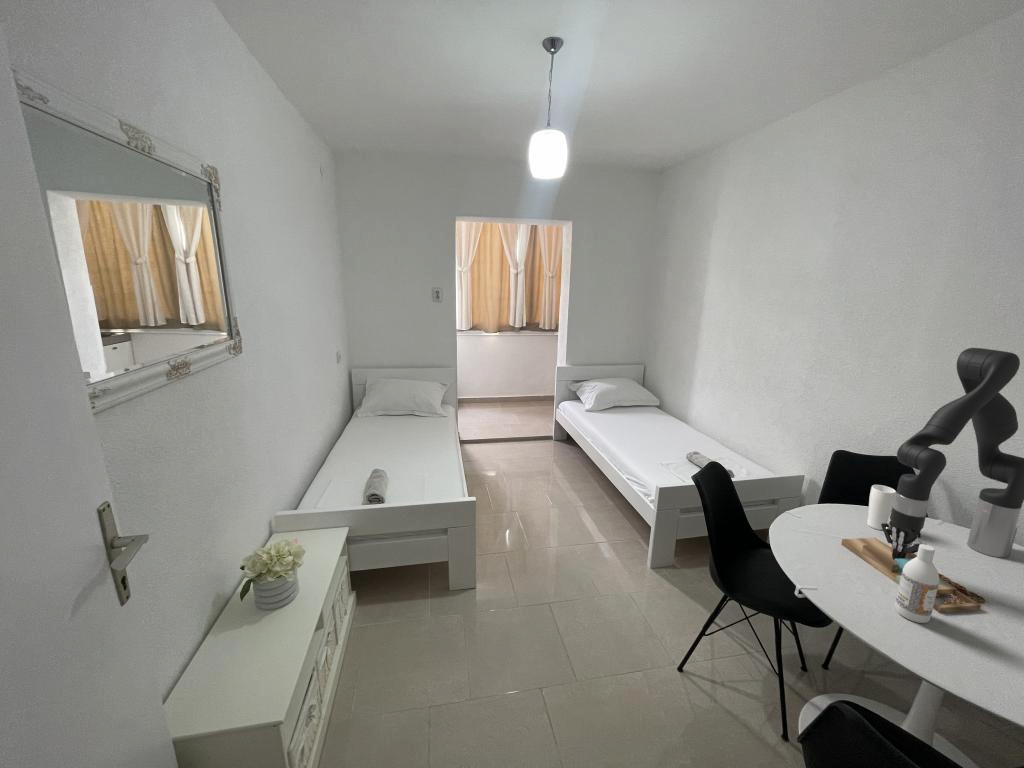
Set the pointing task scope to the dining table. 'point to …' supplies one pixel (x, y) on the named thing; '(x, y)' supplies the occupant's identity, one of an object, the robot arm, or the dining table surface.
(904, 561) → the block
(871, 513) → the drinking glass
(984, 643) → the dining table surface
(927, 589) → the bath foam
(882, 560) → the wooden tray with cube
